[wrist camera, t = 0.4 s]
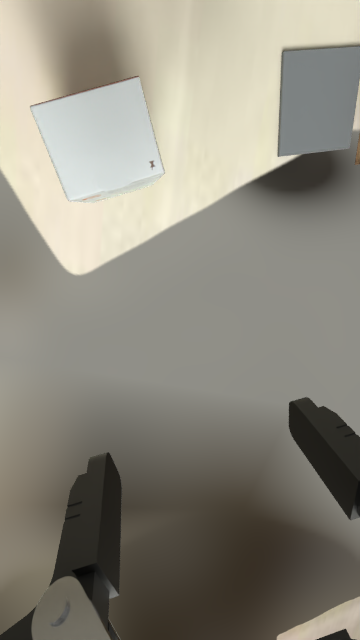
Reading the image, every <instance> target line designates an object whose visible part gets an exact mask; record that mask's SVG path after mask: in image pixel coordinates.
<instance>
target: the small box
mask: <svg viewBox="0 0 360 640" xmlns="http://www.w3.org/2000/svg"><path fill="white" fill-rule="evenodd" d="M30 109H31V112H32V114H33V116H34V119H35V121H36V124H37V126H38V129H39V131H40V134H41V136H42V138H43V141H44V143H45V146H46V148H47V151H48V153H49V156H50V158H51V161H52V163H53V165H54V168H55V170H56V173H57V175H58V178H59V180H60V183H61V185H62V188H63V190H64V193H65V195H66V197H67V200H68V201H73V202H87V203H95V202H99V201H102V200H106V199H109V198H113V197H116V196H119V195H123V194H126V193H129V192H133V191H136V190H139V189H142V188H145V187H148V186H151V185H153V184H154V183H155V182H156V181H157V180H158V179H159V178H160V177H161V176H162V175H163V174H164V173H165V171H164V167H163V164H162V160H161V157H160V153H159V149H158V146H157V142H156V138H155V135H154V131H153V127H152V124H151V120H150V116H149V112H148V109H147V105H146V101H145V97H144V94H143V90H142V86H141V82H140V77H139V76H135V77H132V78H128V79H124V80H121V81H117V82H114V83H110V84H107V85H103V86H99V87H96V88H92V89H89V90H85V91H81V92H78V93H74V94H70V95H67V96H64V97H60V98H56V99H53V100H49V101H46V102H42V103H39V104H35V105H32V106H30Z"/></svg>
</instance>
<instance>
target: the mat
mask: <svg viewBox="0 0 360 640" xmlns="http://www.w3.org/2000/svg"><path fill="white" fill-rule="evenodd" d="M359 79H360V46H357V47H342V48H327V49H312V50H297V51H284V52H283V53H282V66H281V90H280V114H279V139H278V157H280V156H288V155H297V154H306V153H314V152H323V151H331V150H339V149H348V148H350V142H351V135H352V129H353V121H354V114H355V107H356V100H357V93H358V86H359Z"/></svg>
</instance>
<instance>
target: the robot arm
mask: <svg viewBox="0 0 360 640" xmlns="http://www.w3.org/2000/svg"><path fill="white" fill-rule="evenodd" d="M289 429H290V432H291V435H292V437H293V438H294V440H295V442H296V443H297V445H298V446H299V448H300V449H301V450H302V452H303V453H304V455H305V456H306V458H307V459H308V461H309V462H310V463H311V464H312V466H313V468H314V469H315V471H316V472H317V473H318V475H319V476H320V478H321V479H322V481H323V482H324V484H325V485H326V486H327V488H328V489H329V491H330V492H331V494H332V495H333V496H334V498H335V499H336V501H337V502H338V504H339V505H340V506H341V508H342V509H343V511H344V512H345V514H346V515H347V516H348V518H349V519H350V520H353V519H356V518H359V517H360V437H359V436H358V435H356V434H355V432H354V431H353V430H352V429H351V428H350V427H349V426H347V424H346V423H345V422H344V421H343V420H342V419H341V418H340V417H339V416H338V415H337V414H336V413H335V412H333V411H331V410H329V409H328V408H326V407H324V406H322V407H319V408H318V407H317V406H316V405H315V404H314V403H313V402H312V401H311V400H310V399H309V398H306V397H305V398H302V399H298V400H295V401H291V402H290V403H289ZM121 497H122V487H121V479H120V475H119V472H118V470H117V468H116V466H115V464H114V461H113V459H112V457H111V455H110V453H109V452H108V453H104V454H100V455H97V456H93V457H90V459H89V462H88V468H87V473H86V474H82V475H79V476H78V478H77V479H76V481H75V483H74V485H73V487H72V489H71V490H70V495H69V500H68V505H67V506H68V508H67V510H66V516H65V522H64V525H63V530H62V535H61V540H60V545H59V550H58V555H57V559H56V564H55V570H54V574H53V578H52V581H51V583H50V586H49V588H48V589H47V590H46V591H45V593H44V594H43V596H42V597H41V599H40V601H39V602H38V605H37V606H36V607H35V608H34V609H33V610H32V611H31V612H30V613H29V614H28V615H27V616H25V617H24V618H23V619H21V620H20V621H19V622H17V623H16V624H15V625H13V626H12V627H11V628H9V629H8V630H7V631H5V632H4V633H3V634H1V635H0V640H120V638H119V637H118V634H117V633H116V631H115V629H114V627H113V626H112V624H111V622H110V621H109V619H108V612H109V599H110V598H113V597H116V596H119V579H120V538H121V499H122V498H121ZM317 640H355V639H351V638H350V636H349V634H348V632H347V630H346V629H344V630H341V631H338V632H335V633H333V634H330V635H327V636H325V637H322V638H319V639H317Z"/></svg>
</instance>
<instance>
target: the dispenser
mask: <svg viewBox="0 0 360 640" xmlns="http://www.w3.org/2000/svg"><path fill="white" fill-rule="evenodd" d="M355 164H360V134H359V141H358V147H357V154H356V161H355Z"/></svg>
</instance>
